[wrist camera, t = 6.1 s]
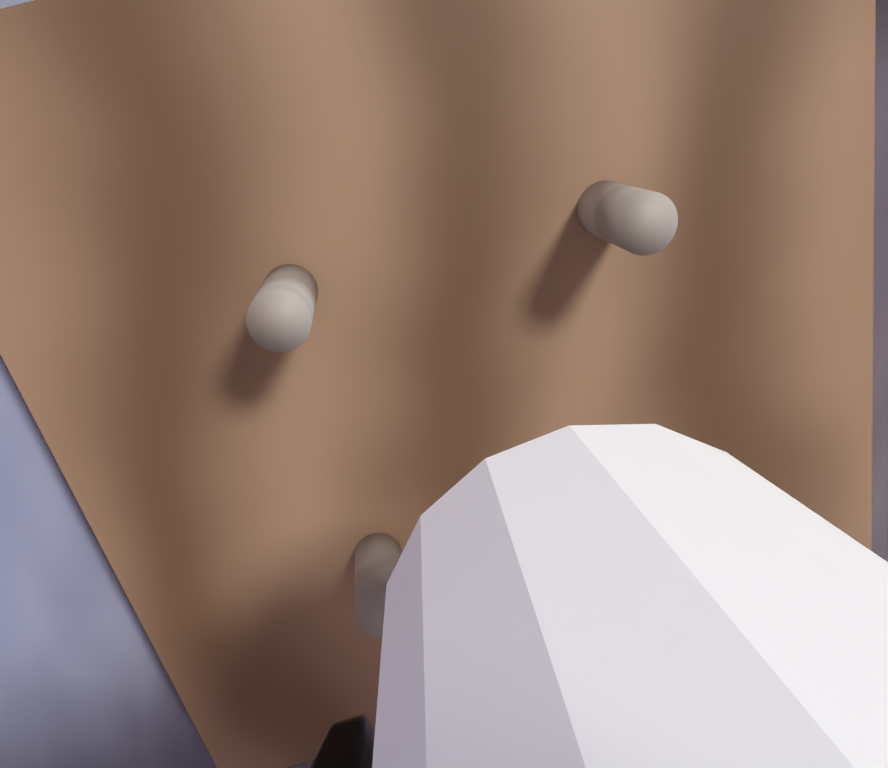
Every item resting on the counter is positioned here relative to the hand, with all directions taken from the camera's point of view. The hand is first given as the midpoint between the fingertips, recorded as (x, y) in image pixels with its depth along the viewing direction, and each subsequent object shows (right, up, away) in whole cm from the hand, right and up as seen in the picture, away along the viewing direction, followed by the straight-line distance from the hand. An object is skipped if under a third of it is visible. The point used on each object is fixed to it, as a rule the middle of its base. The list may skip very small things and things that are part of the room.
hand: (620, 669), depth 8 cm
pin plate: (-1, +4, +9) cm, 10 cm away
